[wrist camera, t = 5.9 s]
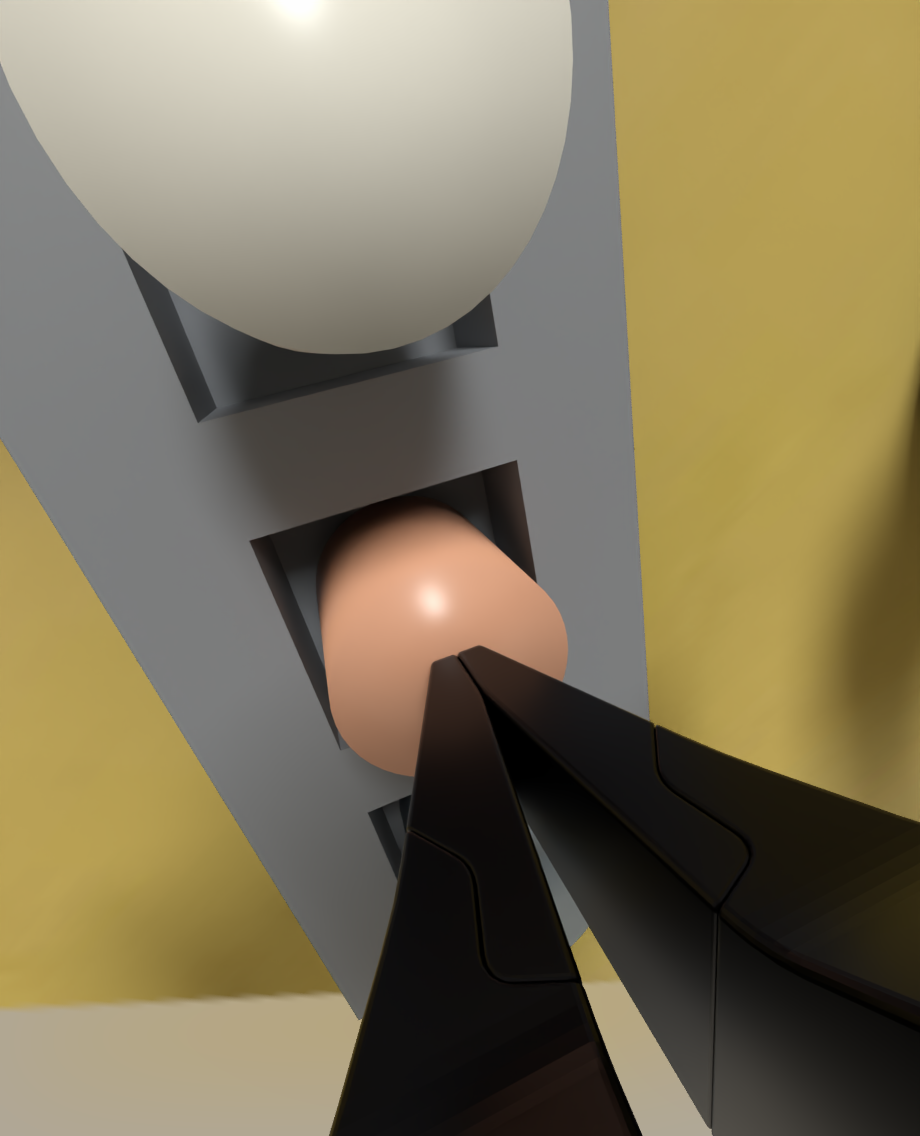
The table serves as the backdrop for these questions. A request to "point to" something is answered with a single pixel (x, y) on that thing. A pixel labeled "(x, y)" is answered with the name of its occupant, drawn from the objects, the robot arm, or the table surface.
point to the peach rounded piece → (418, 618)
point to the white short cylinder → (304, 149)
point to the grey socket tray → (322, 487)
